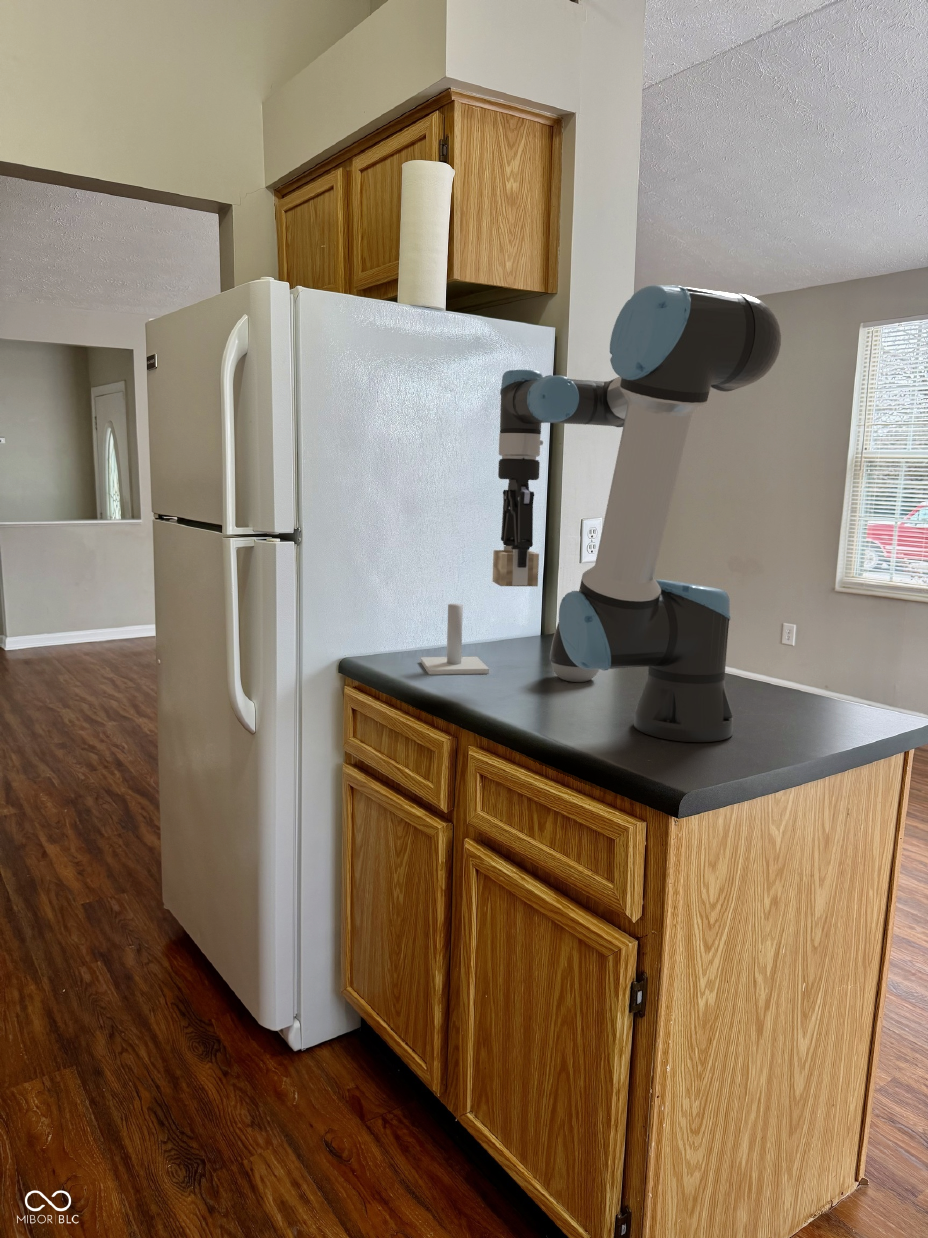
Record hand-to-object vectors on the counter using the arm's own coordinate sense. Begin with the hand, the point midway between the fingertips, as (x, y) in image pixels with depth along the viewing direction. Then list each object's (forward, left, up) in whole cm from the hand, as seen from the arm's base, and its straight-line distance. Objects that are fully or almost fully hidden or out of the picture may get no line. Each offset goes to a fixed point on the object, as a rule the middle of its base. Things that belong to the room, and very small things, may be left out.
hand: (514, 582), depth 165 cm
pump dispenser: (+2, -13, -19) cm, 24 cm away
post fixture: (+14, +9, -19) cm, 25 cm away
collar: (0, 0, 0) cm, 0 cm away
